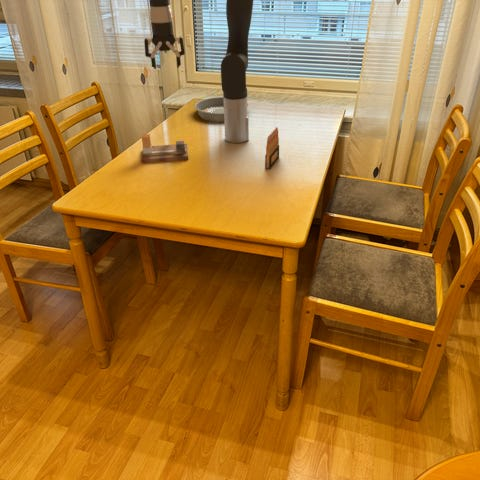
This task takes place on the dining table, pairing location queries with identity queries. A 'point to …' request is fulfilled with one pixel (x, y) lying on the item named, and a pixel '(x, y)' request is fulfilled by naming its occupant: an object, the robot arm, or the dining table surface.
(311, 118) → the dining table surface
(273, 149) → the ammunition clip
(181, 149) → the brown slider base
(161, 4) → the robot arm
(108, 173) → the dining table surface
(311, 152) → the dining table surface
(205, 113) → the cake pan
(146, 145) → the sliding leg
